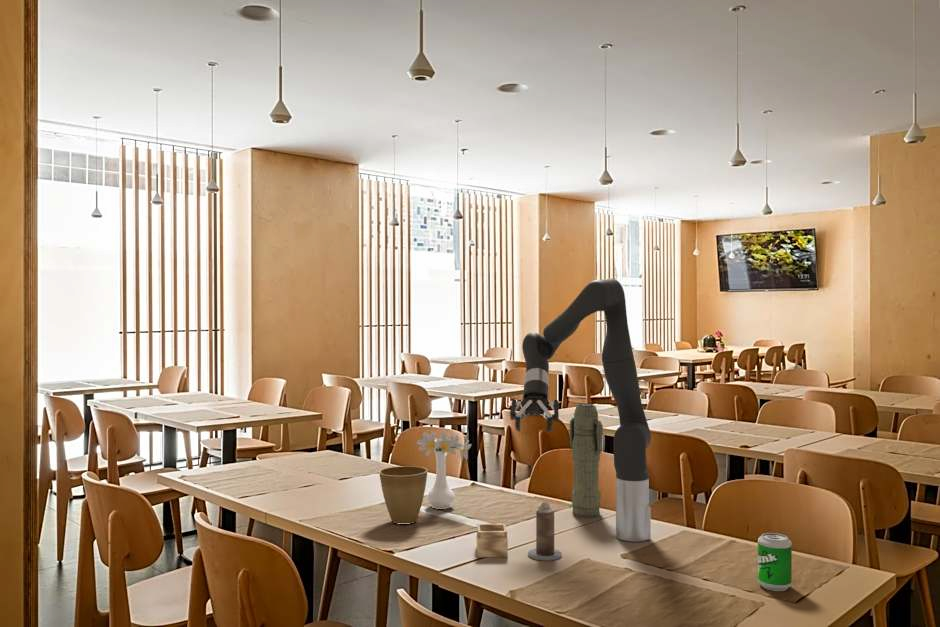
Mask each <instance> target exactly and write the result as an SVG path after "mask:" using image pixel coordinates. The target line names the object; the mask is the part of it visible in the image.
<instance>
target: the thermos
mask: <svg viewBox="0 0 940 627" xmlns="http://www.w3.org/2000/svg"><path fill="white" fill-rule="evenodd" d="M603 430H604V425H603V423H602V421H601V420H599V413H598V410H597V407H596V405H594V404H593V403H579V404H578V405H576V407H575V410H574V413H573V417H572V418H571V419H570V421H569V445H570V448H569V449H570V450H571V455H572V457H571V459H572V461H573V488H572V491H571V506H572V514H573V515H574V516H577V517H580V518H581V517H582V518H593V517H594V518H595V517H599V516H600V514H601V512H600V508H601V493H600V489H599V462H600V460H601V453H602V452H603V451H604V450H603V432H604V431H603Z"/></svg>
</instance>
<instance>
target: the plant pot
mask: <svg viewBox="0 0 940 627" xmlns="http://www.w3.org/2000/svg"><path fill="white" fill-rule="evenodd" d="M378 473H379V479H380V486H381V490H382V495H383V498H384V502H385V505H386V509H387V512H388V514H389V517H390V519H391V520H390V521H391V522H392V521H393V522H395V523H412V522H415V521H416V522H417V521H418V518H419V515H420V512H421V508H422V504H423V502H424V496H425V491H426V486H427V478H428V469H427V468H426V467H421V466H414V465H409V466H408V465H403V466H398V465H397V466H391V467H386V468H382V469H380V470H379V471H378ZM393 522H392V523H393ZM416 522H415V523H416Z"/></svg>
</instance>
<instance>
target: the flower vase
mask: <svg viewBox="0 0 940 627" xmlns="http://www.w3.org/2000/svg"><path fill="white" fill-rule="evenodd" d="M469 442H470V440H469V439H468V440H467V441H466V442H465V443H464V444H462V443H460V442H459V435H458V434H454V432H451V436H448V437H447V434H446V432H445V431H444V430H442V431H441V432H440V438H437V432H436V431H433V432H432V433H431V434H429V432H428V431H424V432H423V433H422V438H421V439H418V440H417V441H416V444H417V445H420V446H419V447H418V450H419V451H425V454H424V455H425V456H426V458H427V457H429V456H430V454H431V452H432V450H433V452H434V455H435V461H436V471H435V472H436V473H435V475H436V476H435V481H434V484H433V487H432V488H431V489H430V490H429V491H428V493H427V495H426V500H427V502H428V503H429V504H430V505H431V508H432V509H433V508H436V509H435V510H437V509H444V510H446V509H445V508H449V507H450V508H451V505H452V504H453V503H454V502H455V499H456V495H455V493H454V490H452V489H451V488H450V486H449V484H448V481H447V472H446V469H447V468H446V462H447V461H446V460H447V455H448V453H450V454H452V455H456V454H457V453H456V450H459V454H460V455H459V456H460V462H461V463H462V462H463V460H464V459H465V460H467V459H468V458H469V457H468V456H469V455H468V452H467V451H468V450H470V449H471V447H472V443H469ZM450 508H449V509H450Z"/></svg>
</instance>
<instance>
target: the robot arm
mask: <svg viewBox="0 0 940 627" xmlns="http://www.w3.org/2000/svg"><path fill="white" fill-rule="evenodd" d="M626 303H627V302H626V295H625V291H624V288H623V284H621V282H619V280H617V279H614V278H604V279H595V280H592V281H590V282H589V283H587V285H585V287H584V288H583V289H582V290H581V291H580V293H579V294H578V295H577V297H576V298H575V299H574V300H573V301H572V302H571V303H570V305H568V307H567V308H565V310H564V311H563V312H561V314H559V315H558V316H557V317H555V318H554V319H553V320H552V321H551V322H550V323H548V324H547V325H546V326H545V327H544V329H543V333H542V334H539V333H538V332H534V331H530V332H529V333H527V334H526V335H525V336H524V338H523V340H522V345H521V349H522V354H523V357H524V361H525V365H526V368H525V376H524V381H523V392H522V393H523V396H522V399H521V401H520V400H517V399H515V398H513V399H512V400H511V405H510V411H509V416H510V420H512V421H513V420H514V421H515V425H514V426H515V427H514V428H515V430H516V431H517V432H521V424H522V420H523V419H524V418H526V417H527V416H543V418H544V419H546V432H547V433H550V431H552V430H553V422H554V421H556V422H557V421H559V418H560V417H559V401H558V399H554V400H553V401H549V390H550V389H549V388H550V379H549V370H550V365H549V362H548V360H551V359H552V358H553V356H554V355H555V353H556V351H558V349H559V348H560V345H562V343H564V341H566V340H567V339H569V337H570V336H572V335H573V334H575V332H576V331H577V329H578V328H579V325H580V324H581V323H582V321H583V320H584V319H586V318H587V317H590V315H592V314H595V313H597V312H603V313H604V318H605V321H606V322H605V324H606V332H605V333H606V334H605V338H604V341H603V346H602V350H601V363H602V366H603V367H602V368H603V372H604V377H605V381H606V383H607V386H608V388H609V390H610V393H611V394H612V397H613V399H614V401H615V404H616V408H617V412H618V417H619V427H618V428H617V429H616V430H615V432H614V434H613V464H614V471H615V487H616V488H615V537H616V538H617V539H619V540H622V541H625V542H633V543H634V542H635V543H636V542H637V543H639V542H644V541H649V540H650V541H651V539H652V538H651V537H652V536H651V534H652V532H651V531H652V530H651V529H652V528H651V527H652V526H651V525H652V524H651V522H652V521H651V520H652V518H651V517H652V516H651V514H652V513H651V512H652V511H651V510H652V508H651V506H650V503H649V501H650V500H649V495H650V494H649V490H650V488H649V478H650V477H649V476H650V474H649V473H650V472H649V468H648V467H647V466H648V465H647V448H648V447H649V445H650V443H651V440H652V433H651V430H650V427H649V424H648V420H647V417H646V414H645V410H644V407H643V404H642V397H641V389H640V384H639V378H638V372H637V365H636V361H635V360H636V359H635V356H634V355H635V354H634V352H633V347H632V341H631V336H630V330H629V324H628V323H629V322H628V316H627V313H628V312H627V306H626ZM520 406H521V408H520V410H519V411H518V412H517V413H516V411H517V410H518V409H519V407H520ZM550 407H551V409H552V410H553V414H552V413H551V412H550V411H549V408H550Z"/></svg>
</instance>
